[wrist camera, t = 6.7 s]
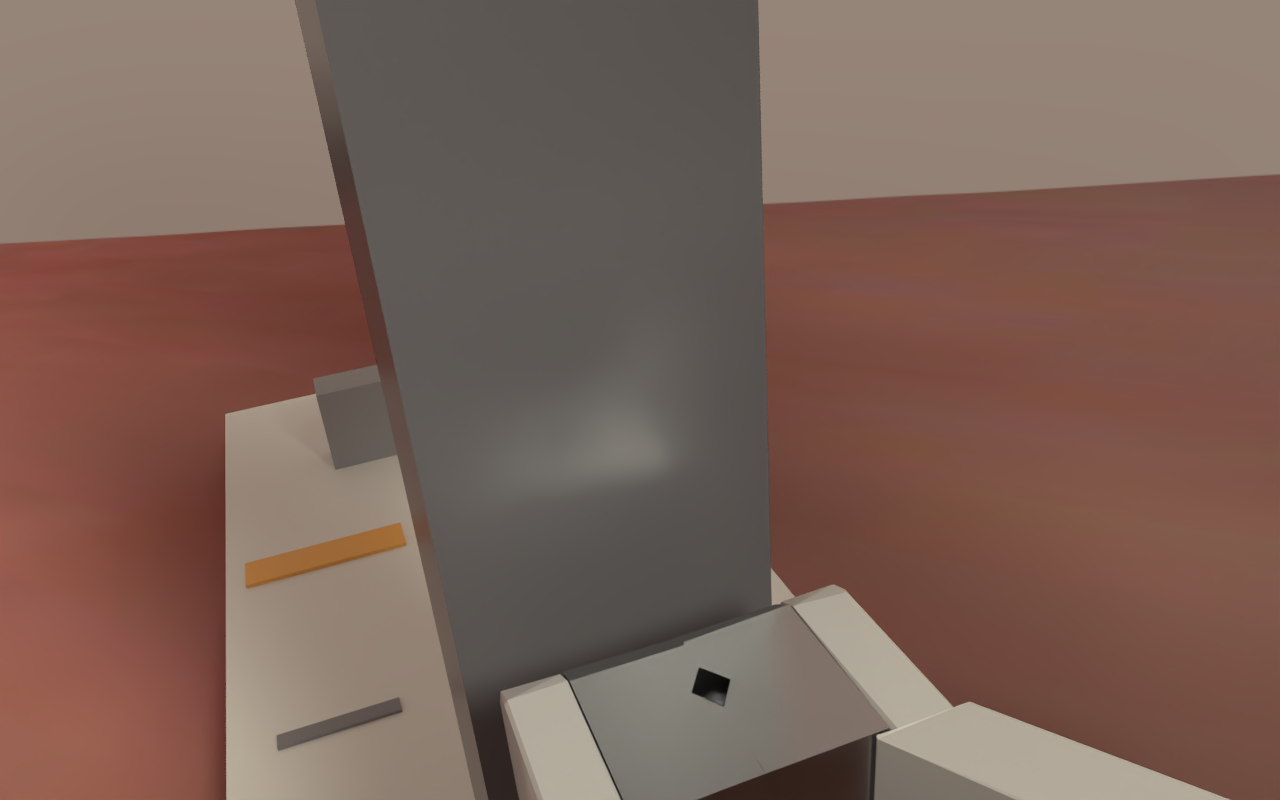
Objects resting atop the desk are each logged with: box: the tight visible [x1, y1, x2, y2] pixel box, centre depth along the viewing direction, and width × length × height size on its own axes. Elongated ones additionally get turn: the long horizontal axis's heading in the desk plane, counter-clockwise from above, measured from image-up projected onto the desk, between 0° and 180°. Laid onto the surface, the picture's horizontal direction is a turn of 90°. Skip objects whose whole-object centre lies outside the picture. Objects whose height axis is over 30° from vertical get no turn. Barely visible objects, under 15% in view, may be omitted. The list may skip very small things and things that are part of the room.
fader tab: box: [295, 0, 772, 800], centre depth 10 cm, size 4×4×14 cm
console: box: [225, 365, 795, 800], centre depth 17 cm, size 26×10×4 cm, turn 21°
